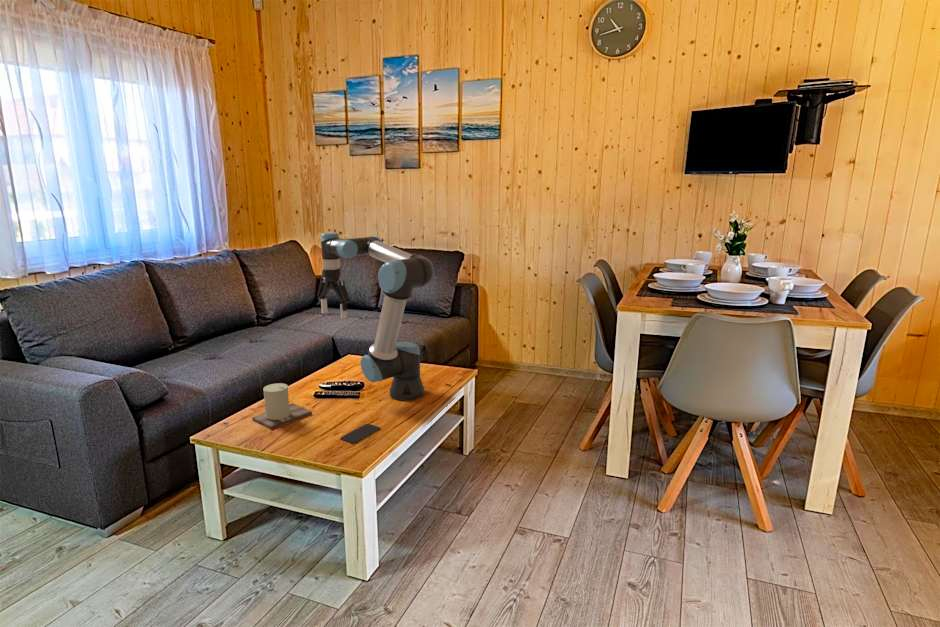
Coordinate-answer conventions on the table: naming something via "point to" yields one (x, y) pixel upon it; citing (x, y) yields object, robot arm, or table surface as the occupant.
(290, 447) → the table surface
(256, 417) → the grey flat block
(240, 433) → the table surface
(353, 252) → the robot arm
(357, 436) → the phone
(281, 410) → the can
